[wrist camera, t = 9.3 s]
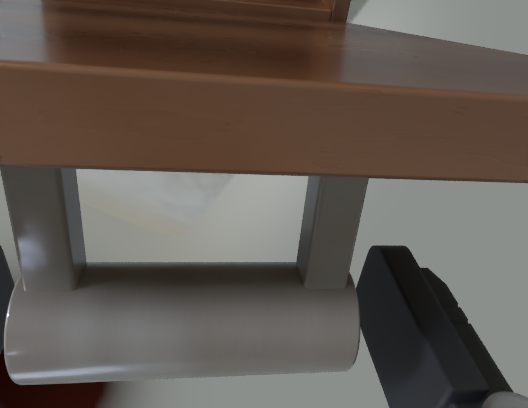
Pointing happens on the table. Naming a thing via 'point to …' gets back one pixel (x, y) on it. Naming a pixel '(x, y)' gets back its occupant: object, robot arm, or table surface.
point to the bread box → (264, 7)
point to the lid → (223, 161)
